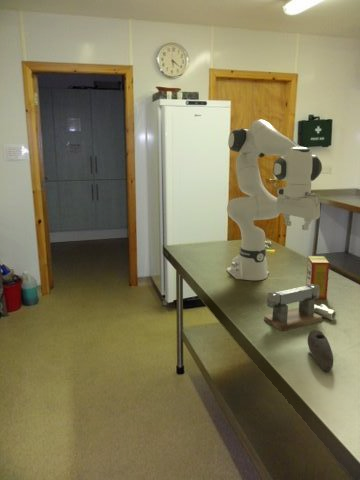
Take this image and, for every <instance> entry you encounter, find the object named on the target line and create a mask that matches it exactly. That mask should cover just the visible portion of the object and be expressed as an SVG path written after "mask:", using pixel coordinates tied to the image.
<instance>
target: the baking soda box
mask: <svg viewBox="0 0 360 480" xmlns="http://www.w3.org/2000/svg"><path fill="white" fill-rule="evenodd" d="M306 262H307V265H306V279H305V280H306V281H305V282H306V283H305V286H307V285H308V284H315V285H318V286H319V298H317V299H316V300H327V298H328V287H329V286H328V283H329V272H330V262H329V261H328V260H327V258H326V257H325V256H323V255H308V256H307V261H306Z"/></svg>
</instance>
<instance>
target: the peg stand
mask: <svg viewBox="0 0 360 480" xmlns="http://www.w3.org/2000/svg"><path fill="white" fill-rule="evenodd" d="M315 300H316V299H308V300H304V301H299V302H298V307H296V308H292V309H289V305H288V304H286V305H282V306H280V307H278V308H272V313H270V314H266V315H264V316H263V320H264V321H265V322H267V323H268V324H270V325H272V326H273V327H274V328H277V330H280V331H281V332H283V331H288V330H292V329H296V328H299V327H303V326H307V325H311V324H315V323H318V322H322V321H323V317H322V316H320V315H318V314H316V313H314V304H315Z"/></svg>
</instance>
